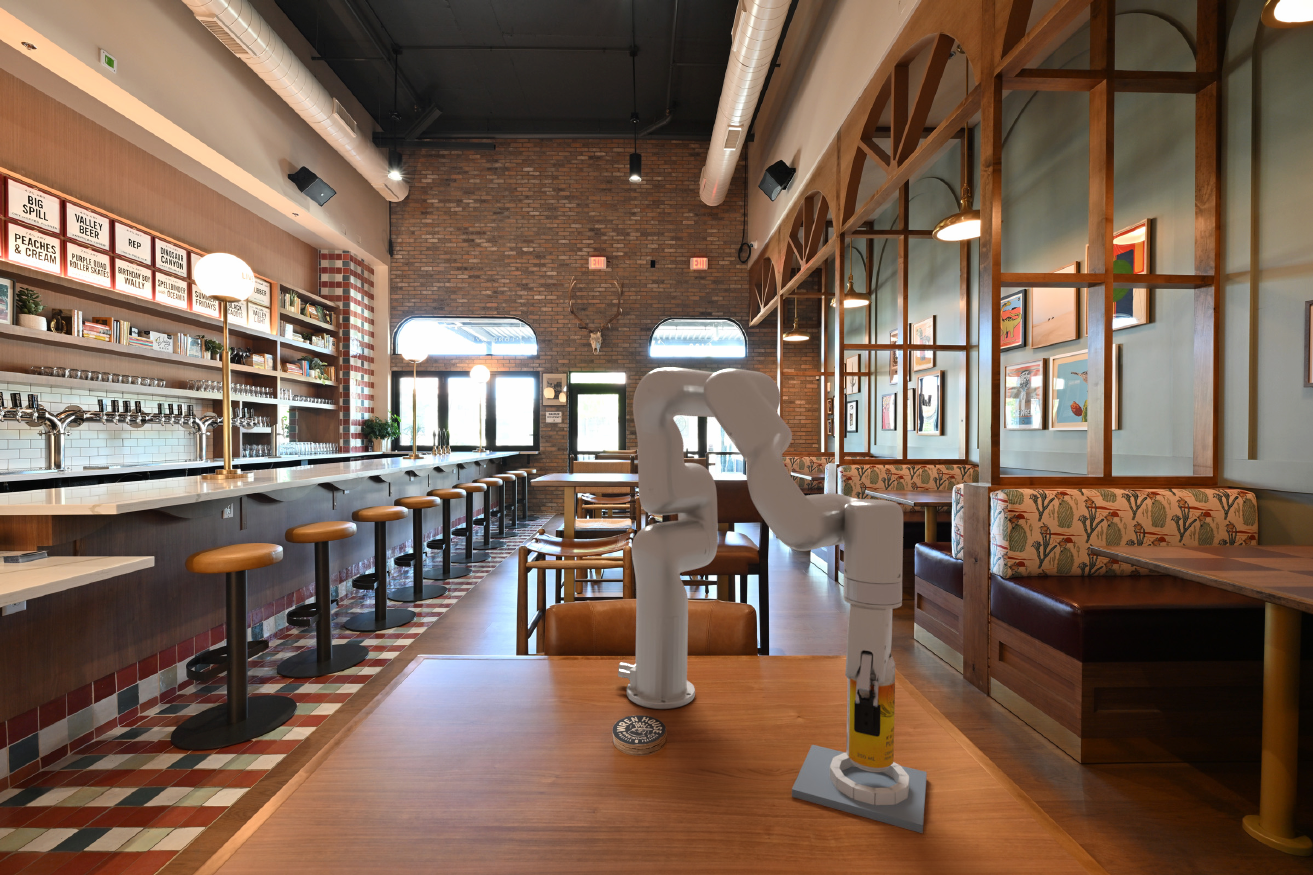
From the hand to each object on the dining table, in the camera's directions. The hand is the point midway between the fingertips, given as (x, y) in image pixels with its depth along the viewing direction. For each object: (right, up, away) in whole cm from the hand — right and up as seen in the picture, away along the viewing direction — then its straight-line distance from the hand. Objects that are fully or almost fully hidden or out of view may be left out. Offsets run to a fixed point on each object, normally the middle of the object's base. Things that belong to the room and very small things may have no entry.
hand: (870, 721), depth 82 cm
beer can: (0, -6, 0) cm, 6 cm away
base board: (-1, -9, +1) cm, 9 cm away
